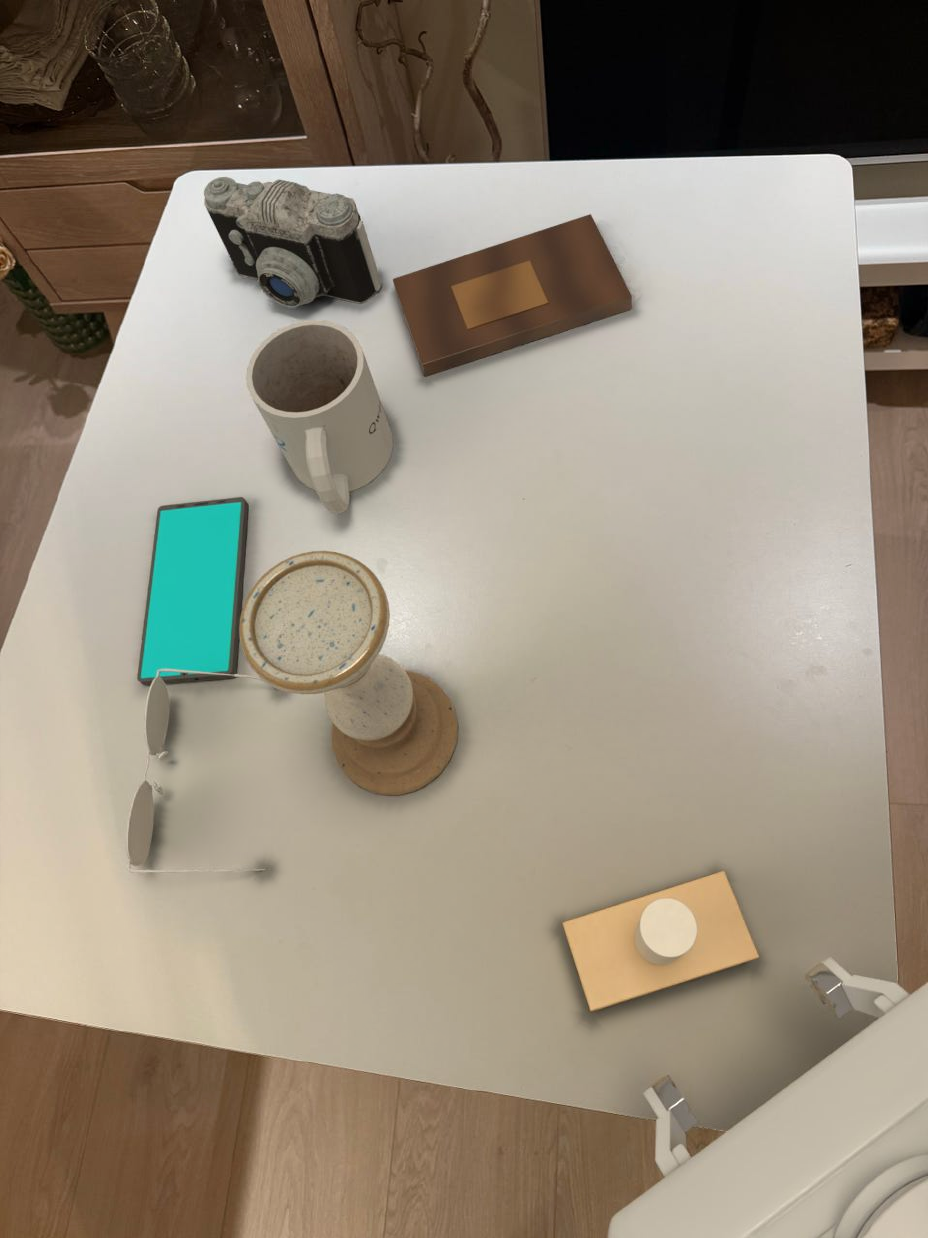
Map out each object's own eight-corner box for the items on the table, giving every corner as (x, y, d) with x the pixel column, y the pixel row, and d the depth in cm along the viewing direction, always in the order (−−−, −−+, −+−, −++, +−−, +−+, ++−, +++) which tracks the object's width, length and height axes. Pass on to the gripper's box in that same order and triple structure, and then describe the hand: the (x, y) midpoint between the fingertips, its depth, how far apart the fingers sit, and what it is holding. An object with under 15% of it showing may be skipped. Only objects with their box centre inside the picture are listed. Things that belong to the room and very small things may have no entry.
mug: (298, 404, 75) (257, 321, 66) (398, 403, 74) (370, 318, 65) (274, 534, 70) (226, 463, 61) (380, 534, 69) (348, 462, 60)
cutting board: (590, 227, 79) (590, 212, 77) (631, 309, 75) (632, 295, 73) (395, 291, 79) (391, 277, 77) (425, 376, 75) (421, 363, 73)
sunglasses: (171, 686, 66) (151, 662, 62) (285, 687, 67) (274, 663, 62) (143, 880, 61) (119, 869, 56) (268, 881, 61) (254, 871, 56)
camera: (213, 298, 82) (164, 209, 72) (247, 244, 84) (204, 150, 75) (356, 334, 78) (324, 243, 68) (388, 275, 80) (361, 180, 71)
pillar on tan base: (717, 878, 56) (744, 847, 45) (750, 960, 54) (786, 947, 43) (564, 927, 56) (555, 907, 45) (591, 1012, 54) (589, 1011, 43)
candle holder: (473, 689, 63) (421, 555, 45) (437, 811, 60) (364, 720, 42) (358, 662, 65) (263, 523, 47) (317, 778, 62) (197, 677, 44)
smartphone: (245, 496, 71) (231, 674, 65) (248, 501, 72) (235, 678, 66) (156, 506, 72) (135, 682, 66) (161, 511, 73) (140, 686, 67)
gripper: (1196, 1066, 30) (893, 859, 42) (694, 1462, 27) (535, 1118, 40) (1229, 1179, 32) (932, 950, 45) (767, 1554, 30) (594, 1200, 42)
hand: (741, 1031), depth 42 cm, fingers open, 8 cm apart
